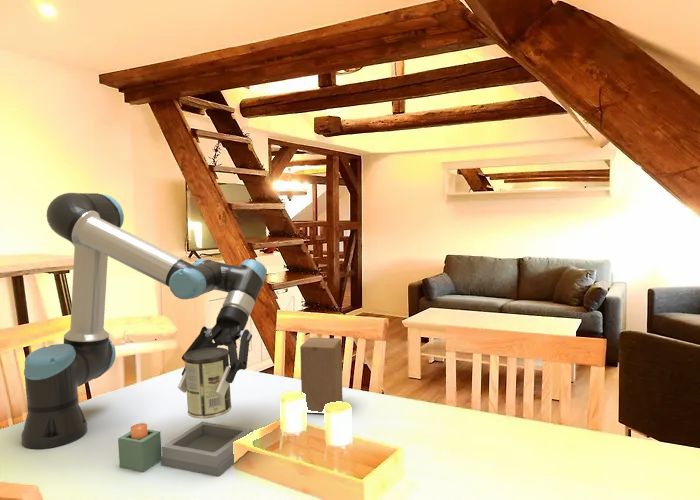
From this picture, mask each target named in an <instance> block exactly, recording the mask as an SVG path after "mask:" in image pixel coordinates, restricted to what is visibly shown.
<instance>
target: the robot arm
mask: <svg viewBox="0 0 700 500" xmlns="http://www.w3.org/2000/svg"><path fill="white" fill-rule="evenodd" d="M124 216H125V215H124V211H123V208H122V206H121V205H120V203H119V202H118V201H117V200H116V199H115V198H114V197H112V196H110V195H109V194H108V195H107V194H102V193H98V192H97V193H96V192H95V193H93V192H92V193H90V192H89V193H87V192H84V193H83V192H82V193H81V192H66V193H62V194H60V195H58V196H56V197H55V198H54V199H52V200H51V202H50V203H49V204H48V206H47V209H46V220H47V223H48V225H49V227H50V229H51V230H52V231H53V232H54V233H55V234H57V235H58V236H60V237H61V238H63V239H65V240H66V241H69V243H70V244H72V245H73V246H74V250H73V251H74V253H73V271H72V272H73V273H72V274H73V275H72V288H71V289H72V290H71V310H70V329H69V330H68V331H67V332H66V333H64V335H63V343H56V344H50V345H48V346H42V347H40V348H38V349H37V348H36V349H35V350H33V351H31V352H30V353H29V354H27V356H26V358H25V359H24V370H23V374H24V382H25V393H26V394H25V396H26V405H27V406H26V407H27V413H26V418H25V423H24V425H23V429H22V432H21V444H22V446H23V447H25V448H28V449H35V450H36V449H37V450H38V449H48V448H55V447H60V446H63V445H66V444H69V443H71V442H72V443H73V442H74V441H76V440H78V439H81V437H83V436H84V435H86V434H87V431H88V424H87V423H88V422H87V419H86V418H85V415H84V413H83V411H82V409H81V406H80V404H79V397H78V396H79V395H78V388H80V386H82V385H85V384H86V383H88V382H90V381H93V380H95V379H98V378H100V377H101V376H102V375H104V374H105V373H107V372H108V371H110V369H111V368H112V367H113V365H114V363H115V359H116V353H117V352H116V347H115V345H114V344H112V342H113V341H112V340H111V339H110V334H109V332H108V331H107V330H106V329H105V328H104V327H105V313H106V312H105V311H106V295H107V294H106V292H107V291H106V290H107V277H108V259H109V258H111V259H113V260H115V261H117V262H120V263H121V264H123V265H125V266H127V267H129V268H131V269H133V270H135V271H137V272H139V273H141V274H142V275H145V276H146V277H149V278H151V279H153V280H154V281H157V282H158V283H160V284H162V285H165V286H167V287H168V288H169V290H170V291H171V293H172V294H173V296H174V297H175V298H176V299H179V300H190V299H191V300H192V299H196V298H199V297H200V296H202V295H204V294H207V293H209V292H212V291H220V292H225V293H227V295H226V297H225V298H224V301H223V303H222V307H221V308H220V311H219V312H218V314H217V317H216V321H215V325H213V327H211V328H208V327H206V325H204V326H202V327H201V330H200V332H199V334H198V335H197V337H196V338H195V339H194V341H193V342H192V343H191V344H190V346H189V347H188V348H187V350H186V351H185V352H184V353H183V354H182V356H181V360H182V361H183V362H184V363H185V359H184V355H185V354H186V353H187V352H190V351H192V350H196V349H201V348H210V347H219V346H220V347H221V346H225V347H227V350H228V351H229V355H228V358H229V367H228V366H226V369H225V371H224V374H223V376H222V378H221V381H220V383H219V386H218V388H217V390H216V393H217V394H218V395H219V396H220V397H224V396H225V394H226V391H227V389H228V386H229V384H230V385H231V384H232V383H234V380H235V377H236V375H237V373H238V371H240V370H243V371H245V370H246V369H247V368H248V367H247V366H248V358H249V350H250V349H249V348H250V342H251V340H252V338H253V335H252V333H251V331H249V329H245V328H246V326H247V323H248V321H249V317H250V316H251V313H252V311H253V309H254V307H255V304H256V301H257V299H258V296H259V295H260V293H261V290H262V288H263V286H264V282H265V279H266V278H267V277H266V276H267V272H268V271H267V268H266V266H265V265H264V264H263V263H262V262H260V261H259V260H256V259H253V258H252V259H251V258H249V259H245V260H243V261H242V262H241V264H240V265H234V264H233V265H232V264H229V263H225V262H224V263H223V262H219V261H215V260H212V259H205V258H198V259H196V260H194V262H193V263H190V262H188V261H187V260H183V258H180V257H179V256H176V255H174V254H172V253H171V252H168V251H167V250H164V249H162V247H161V248H160V247H158V246H156V245H155V244H153V243H151V242H148V241H146V240H145V239H143V238H140V237H139V236H137V235H135V234H134V233H133V234H132V233H131V232H128V231H126V230H125V229H123V228H122V226H123V224H124V221H125V217H124ZM108 257H109V258H108ZM239 339H240V342H239V343H240V344H239V350H237V348H238V345H237V340H239ZM238 351H239V352H238ZM181 376H182V377H181V379H180V381H179V383H178V385H177V388H178V390H180V391H181V392H183V393H184V394H187V388H186V372H185V367H183V370H182V371H181Z"/></svg>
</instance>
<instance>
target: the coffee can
mask: <svg viewBox="0 0 700 500" xmlns="http://www.w3.org/2000/svg"><path fill="white" fill-rule="evenodd" d="M183 355H184V354H183ZM184 359H185V362H184V368H185V372H186V388H187V391H186V401H187V402H186V403H187V415H188V416H189V417H191V418H193V419H199V420H200V419H201V420H202V419H203V420H204V419H213V418H217V417H220V416H223V415H226V414H227V413H229V412H231V410H232V401H231V400H232V399H231V383H230V384H229V386H228V389H227V391H226V394H225V396H224V397H220V396H219V395H218V394H217V393H216V390H217V388H218V386H219V383H220V381H221V378H222V376H223V374H224V371H225V369H226V366H228V367H230V365H229V364H230V360H229V351H228V348H224V347H219V346H217V347H210V348H201V349H196V350H192V351H190V352H187V353H186V354H185V355H184Z"/></svg>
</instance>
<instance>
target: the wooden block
mask: <svg viewBox="0 0 700 500" xmlns="http://www.w3.org/2000/svg"><path fill="white" fill-rule="evenodd" d="M299 348H300V352H299V353H300V378H301V379H300V380H301V381H300V382H301V386H300V387H301V393H302V392H303V393H305V394H306V402H307V407H308V410H311V411H318V412H322V411H323V409H324V406H325V404H327V403H330V402H336V401H343V367H342V365H343V363H342V362H343V358H342V357H343V356H342V339H341V338H333V337H331V338H330V337H309V338H308V339H306V341H304V342H303V343H302V344H301V345H300V347H299Z"/></svg>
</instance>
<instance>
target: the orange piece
mask: <svg viewBox="0 0 700 500" xmlns="http://www.w3.org/2000/svg"><path fill="white" fill-rule="evenodd" d="M147 429H148V424H147V423H136V424H134V425H132V426H130V431H131V439H137V440H141V439H143V438H145V437H146V436H148V430H149V429H148V430H147Z"/></svg>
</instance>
